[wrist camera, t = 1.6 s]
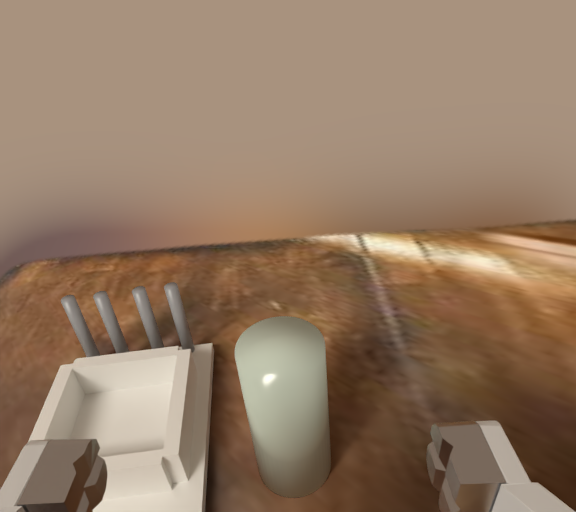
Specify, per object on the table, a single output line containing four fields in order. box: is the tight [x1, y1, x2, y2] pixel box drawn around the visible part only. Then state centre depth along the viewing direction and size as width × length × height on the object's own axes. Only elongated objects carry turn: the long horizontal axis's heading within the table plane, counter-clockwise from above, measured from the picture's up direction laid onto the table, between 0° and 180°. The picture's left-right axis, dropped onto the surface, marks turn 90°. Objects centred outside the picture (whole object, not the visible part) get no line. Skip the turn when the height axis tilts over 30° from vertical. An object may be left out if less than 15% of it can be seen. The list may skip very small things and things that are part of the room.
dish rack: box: [28, 282, 214, 512], centre depth 32 cm, size 12×16×8 cm
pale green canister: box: [235, 316, 331, 498], centre depth 28 cm, size 5×5×11 cm
